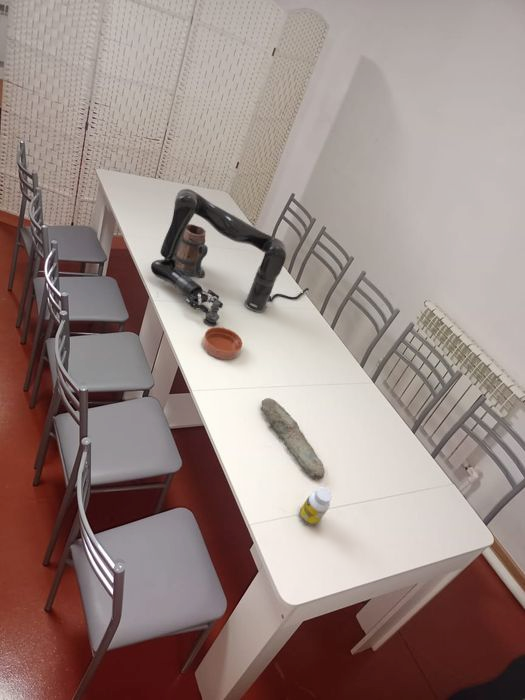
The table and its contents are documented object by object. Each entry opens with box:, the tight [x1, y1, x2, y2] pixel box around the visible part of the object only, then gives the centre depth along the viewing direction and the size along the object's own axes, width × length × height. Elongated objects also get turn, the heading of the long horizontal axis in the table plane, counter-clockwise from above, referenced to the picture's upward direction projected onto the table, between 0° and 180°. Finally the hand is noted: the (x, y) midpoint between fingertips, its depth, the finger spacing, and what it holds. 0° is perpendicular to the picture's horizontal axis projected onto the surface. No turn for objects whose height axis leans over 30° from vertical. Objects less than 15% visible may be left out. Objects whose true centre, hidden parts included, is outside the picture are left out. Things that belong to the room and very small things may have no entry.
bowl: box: [202, 326, 243, 360], centre depth 192 cm, size 15×15×4 cm
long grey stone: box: [261, 397, 326, 480], centre depth 166 cm, size 35×5×10 cm
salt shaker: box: [203, 299, 221, 327], centre depth 201 cm, size 6×6×12 cm
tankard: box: [175, 223, 208, 279], centre depth 224 cm, size 24×17×20 cm
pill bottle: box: [299, 487, 333, 526], centre depth 142 cm, size 6×6×12 cm
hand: (215, 308), depth 200 cm, fingers open, 8 cm apart
